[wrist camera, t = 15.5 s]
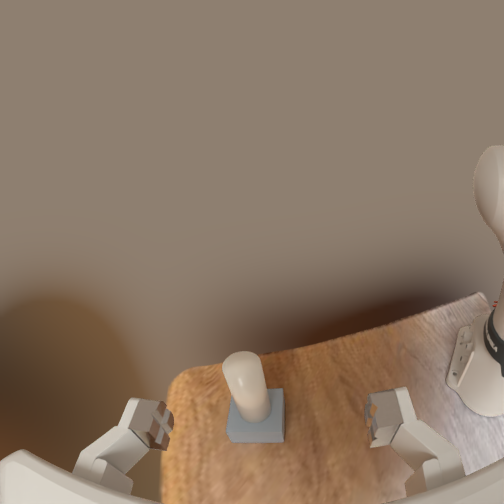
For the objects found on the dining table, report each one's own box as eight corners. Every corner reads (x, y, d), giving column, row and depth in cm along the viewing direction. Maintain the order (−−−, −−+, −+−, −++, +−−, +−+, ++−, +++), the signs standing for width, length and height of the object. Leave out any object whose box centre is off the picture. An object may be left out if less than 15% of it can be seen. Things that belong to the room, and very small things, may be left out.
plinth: (237, 402, 44) (232, 389, 43) (284, 401, 43) (282, 388, 42) (231, 442, 37) (225, 431, 36) (284, 442, 36) (281, 431, 34)
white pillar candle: (249, 393, 42) (235, 347, 37) (276, 403, 39) (267, 357, 34) (233, 416, 38) (214, 372, 33) (261, 427, 36) (248, 385, 31)
